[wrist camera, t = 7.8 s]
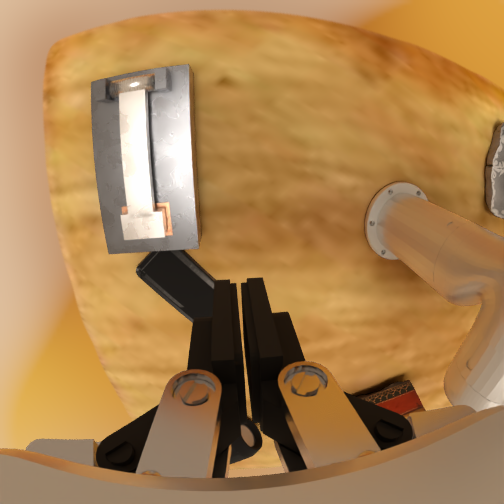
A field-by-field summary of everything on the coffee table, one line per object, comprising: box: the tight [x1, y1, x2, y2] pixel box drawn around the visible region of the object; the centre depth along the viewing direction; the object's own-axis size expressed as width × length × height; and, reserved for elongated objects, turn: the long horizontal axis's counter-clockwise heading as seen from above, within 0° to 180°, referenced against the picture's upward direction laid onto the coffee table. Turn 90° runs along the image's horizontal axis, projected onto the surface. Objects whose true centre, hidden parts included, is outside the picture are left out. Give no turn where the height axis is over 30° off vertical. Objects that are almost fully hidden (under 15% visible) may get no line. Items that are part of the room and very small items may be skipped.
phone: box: [136, 250, 215, 323], centre depth 42 cm, size 8×1×15 cm
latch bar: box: [109, 73, 167, 240], centre depth 28 cm, size 18×5×2 cm, turn 1°
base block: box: [91, 64, 202, 254], centre depth 31 cm, size 22×12×8 cm, turn 1°
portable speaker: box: [230, 419, 262, 464], centre depth 54 cm, size 26×10×10 cm, turn 128°
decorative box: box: [357, 380, 426, 417], centre depth 53 cm, size 20×22×16 cm
